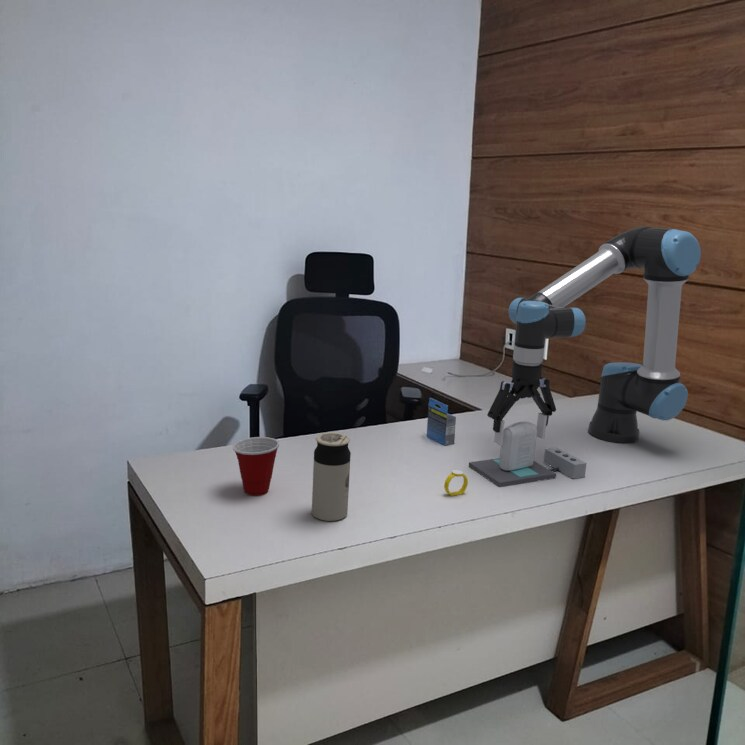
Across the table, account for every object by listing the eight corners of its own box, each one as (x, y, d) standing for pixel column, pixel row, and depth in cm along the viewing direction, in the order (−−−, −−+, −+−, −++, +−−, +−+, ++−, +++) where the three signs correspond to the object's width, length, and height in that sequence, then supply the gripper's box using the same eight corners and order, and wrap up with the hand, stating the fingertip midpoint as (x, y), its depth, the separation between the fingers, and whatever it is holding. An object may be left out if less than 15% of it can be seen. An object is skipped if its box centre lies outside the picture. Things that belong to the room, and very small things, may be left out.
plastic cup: (237, 480, 173) (237, 433, 170) (281, 483, 173) (282, 436, 170) (227, 499, 163) (227, 449, 160) (274, 502, 163) (275, 453, 160)
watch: (461, 491, 175) (465, 468, 174) (467, 495, 173) (471, 472, 172) (441, 493, 172) (444, 470, 171) (447, 498, 170) (451, 474, 169)
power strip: (554, 460, 198) (556, 446, 197) (584, 477, 188) (586, 462, 187) (529, 464, 194) (530, 450, 193) (558, 481, 184) (560, 466, 183)
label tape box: (454, 444, 207) (458, 403, 204) (444, 446, 204) (447, 405, 201) (435, 434, 214) (439, 395, 211) (425, 436, 211) (428, 397, 208)
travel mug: (305, 517, 156) (308, 440, 152) (320, 503, 163) (324, 429, 159) (338, 525, 154) (342, 447, 149) (352, 510, 161) (356, 435, 156)
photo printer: (523, 460, 193) (529, 417, 190) (535, 466, 190) (541, 422, 186) (496, 467, 187) (500, 422, 184) (507, 472, 184) (512, 427, 181)
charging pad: (522, 458, 198) (523, 454, 198) (555, 478, 186) (556, 473, 186) (468, 466, 190) (469, 461, 190) (499, 487, 178) (499, 481, 178)
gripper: (556, 355, 190) (547, 430, 195) (478, 362, 179) (471, 441, 185) (575, 362, 183) (566, 439, 189) (495, 369, 172) (488, 451, 178)
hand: (519, 440), depth 187 cm, fingers open, 13 cm apart
